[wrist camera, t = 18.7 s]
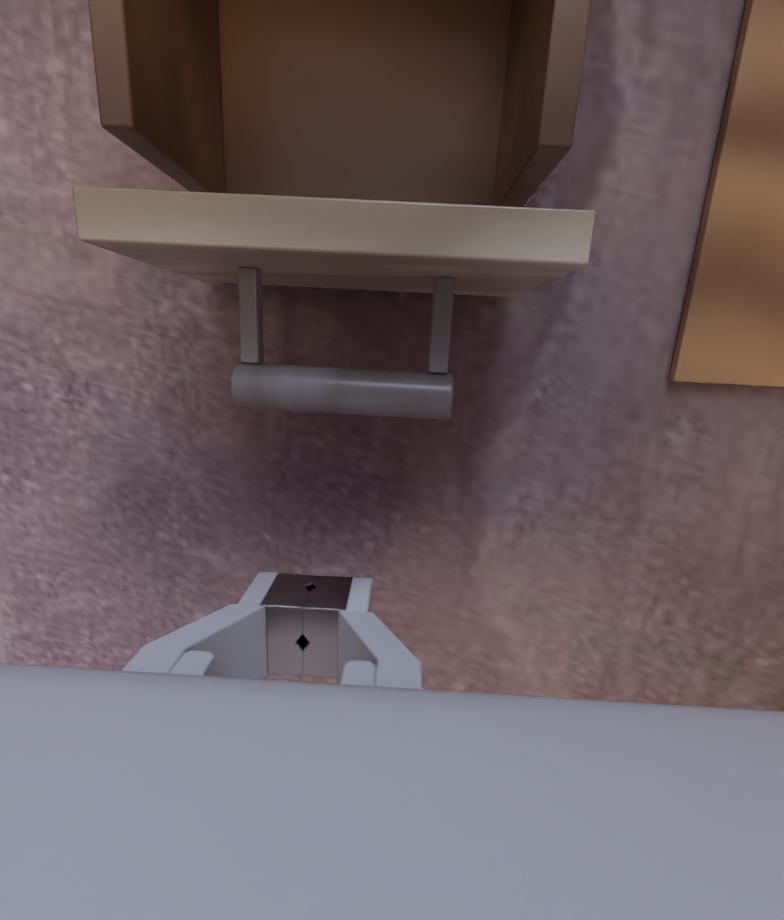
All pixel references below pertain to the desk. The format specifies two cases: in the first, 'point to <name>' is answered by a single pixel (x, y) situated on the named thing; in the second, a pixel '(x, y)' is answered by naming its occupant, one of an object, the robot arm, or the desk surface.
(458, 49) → the drawer
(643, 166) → the desk surface
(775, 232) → the cork pad
